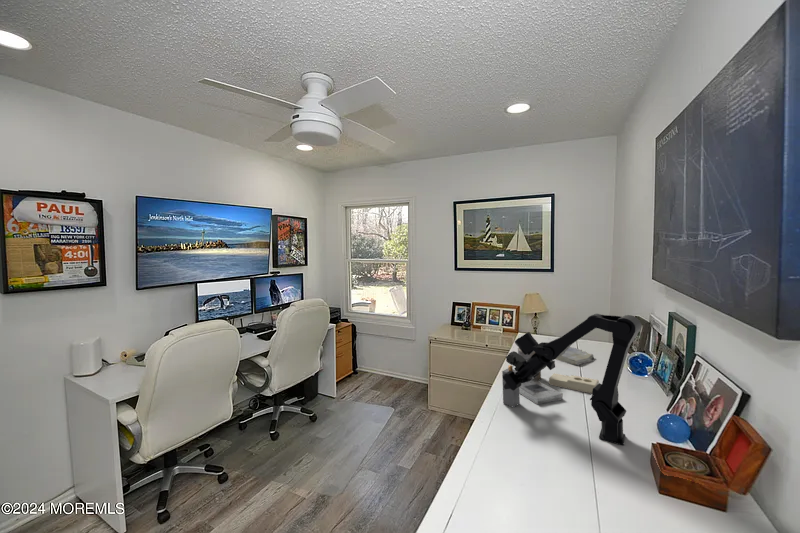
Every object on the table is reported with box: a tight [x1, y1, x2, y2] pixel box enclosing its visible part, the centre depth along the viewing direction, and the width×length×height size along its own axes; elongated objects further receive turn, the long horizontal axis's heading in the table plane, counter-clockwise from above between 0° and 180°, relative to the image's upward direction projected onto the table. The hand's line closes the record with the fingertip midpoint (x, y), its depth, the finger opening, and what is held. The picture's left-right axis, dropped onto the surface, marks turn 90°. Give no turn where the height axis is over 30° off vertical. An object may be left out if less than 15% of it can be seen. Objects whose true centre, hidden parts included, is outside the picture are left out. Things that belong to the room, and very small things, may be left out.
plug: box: [501, 364, 521, 408], centre depth 130 cm, size 4×4×15 cm
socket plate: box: [519, 379, 564, 406], centre depth 138 cm, size 16×12×2 cm
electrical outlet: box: [548, 372, 600, 394], centre depth 144 cm, size 7×4×18 cm
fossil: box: [555, 346, 597, 366], centre depth 180 cm, size 20×5×17 cm
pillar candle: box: [517, 347, 542, 382], centre depth 155 cm, size 10×10×15 cm
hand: (507, 386), depth 131 cm, fingers closed on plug, 4 cm apart
